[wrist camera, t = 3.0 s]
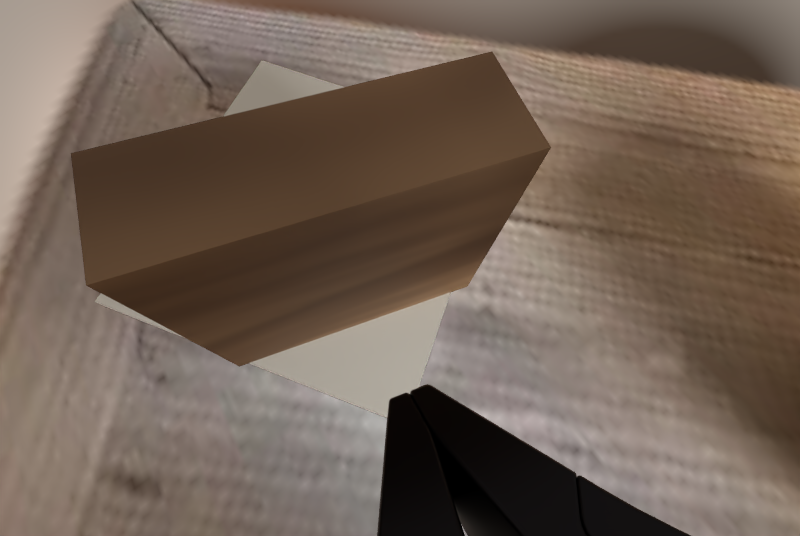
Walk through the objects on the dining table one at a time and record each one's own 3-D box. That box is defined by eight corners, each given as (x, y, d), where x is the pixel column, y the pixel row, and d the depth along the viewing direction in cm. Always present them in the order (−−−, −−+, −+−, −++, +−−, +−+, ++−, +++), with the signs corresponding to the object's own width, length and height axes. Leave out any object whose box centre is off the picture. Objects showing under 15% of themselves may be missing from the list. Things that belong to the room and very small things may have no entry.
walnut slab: (467, 286, 17) (550, 147, 9) (239, 366, 16) (86, 285, 7) (439, 225, 18) (492, 51, 10) (222, 295, 17) (70, 153, 8)
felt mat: (499, 146, 21) (502, 138, 20) (405, 425, 16) (406, 424, 15) (264, 69, 22) (261, 60, 22) (104, 306, 17) (94, 301, 16)
